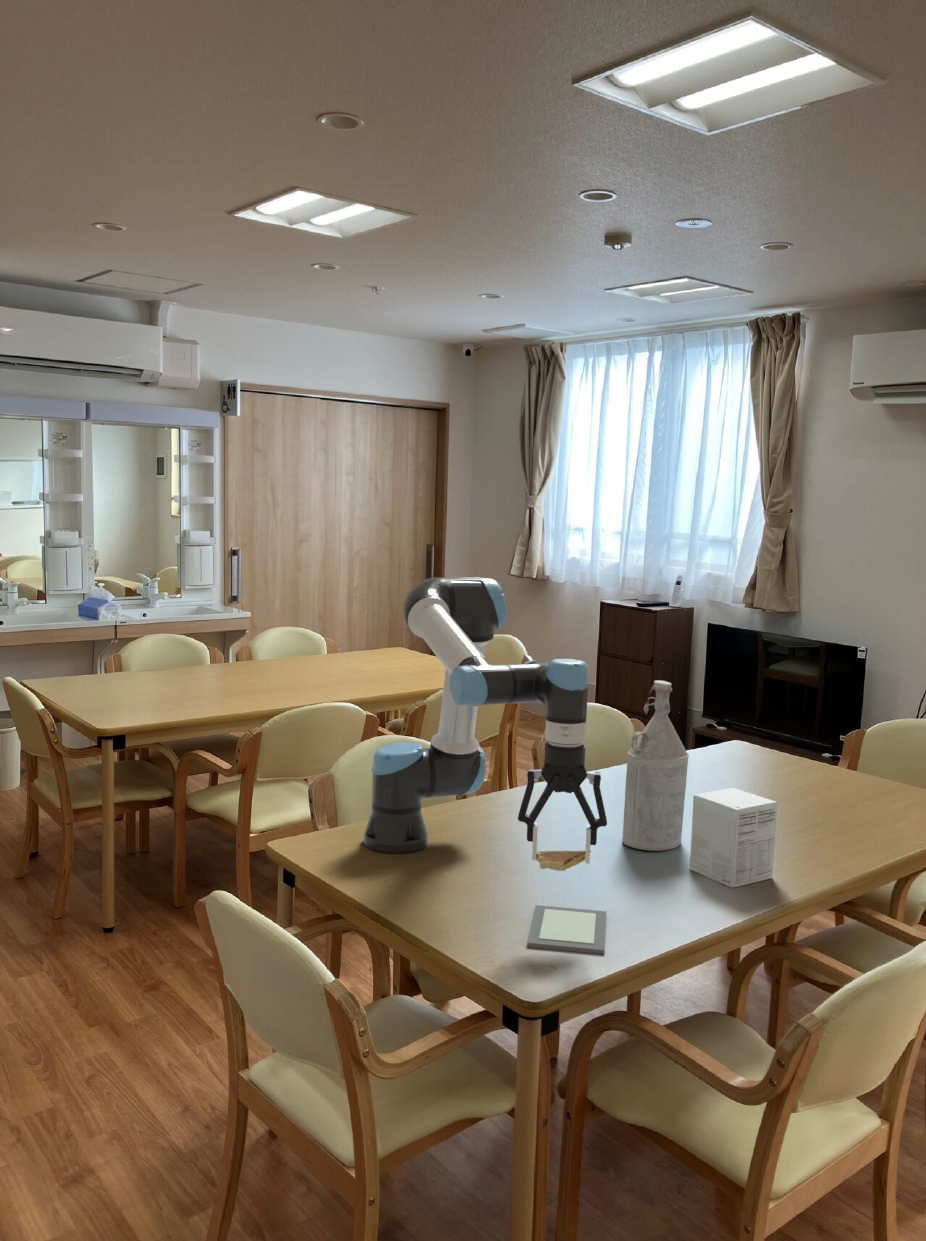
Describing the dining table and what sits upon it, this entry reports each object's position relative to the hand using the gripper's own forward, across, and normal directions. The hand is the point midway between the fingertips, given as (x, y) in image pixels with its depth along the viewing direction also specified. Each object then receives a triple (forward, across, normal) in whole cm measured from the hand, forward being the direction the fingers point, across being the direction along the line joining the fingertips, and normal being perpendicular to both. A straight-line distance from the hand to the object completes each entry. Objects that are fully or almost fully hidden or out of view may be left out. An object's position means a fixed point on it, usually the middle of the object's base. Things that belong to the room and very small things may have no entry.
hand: (560, 859), depth 190 cm
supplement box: (+14, +38, +38) cm, 55 cm away
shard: (+1, 0, 0) cm, 1 cm away
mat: (+14, +2, 0) cm, 14 cm away
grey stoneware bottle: (+14, +22, +55) cm, 61 cm away
